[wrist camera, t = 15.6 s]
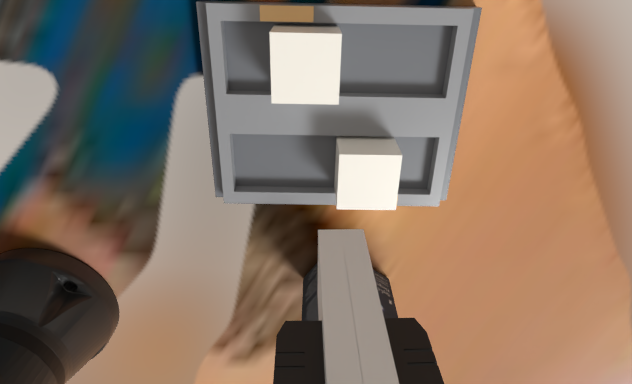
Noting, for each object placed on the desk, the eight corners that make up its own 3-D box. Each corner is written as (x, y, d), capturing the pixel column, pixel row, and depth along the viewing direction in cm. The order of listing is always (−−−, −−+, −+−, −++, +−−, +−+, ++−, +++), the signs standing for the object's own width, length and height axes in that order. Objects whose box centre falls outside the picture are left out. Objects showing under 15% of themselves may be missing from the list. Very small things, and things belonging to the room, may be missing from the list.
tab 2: (334, 185, 40) (336, 209, 36) (336, 134, 38) (339, 154, 34) (387, 186, 40) (395, 210, 36) (393, 135, 38) (402, 155, 34)
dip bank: (218, 190, 42) (212, 204, 39) (199, 0, 34) (191, 3, 32) (442, 194, 42) (450, 207, 40) (476, 6, 34) (488, 9, 32)
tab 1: (275, 88, 36) (271, 103, 32) (274, 24, 33) (269, 32, 29) (335, 89, 36) (338, 104, 32) (338, 25, 33) (341, 33, 30)
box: (389, 276, 47) (408, 354, 38) (357, 308, 49) (368, 389, 40) (331, 242, 45) (337, 315, 35) (301, 277, 47) (298, 355, 38)
